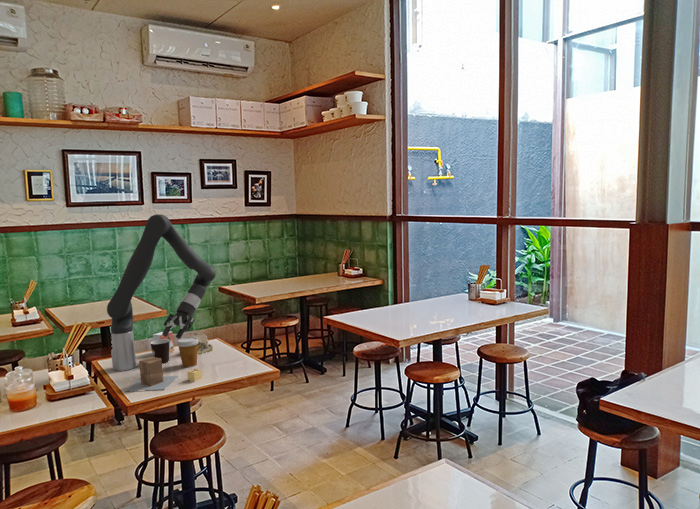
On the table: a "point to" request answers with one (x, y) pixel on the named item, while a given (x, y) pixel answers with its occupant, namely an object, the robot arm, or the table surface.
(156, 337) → the small box
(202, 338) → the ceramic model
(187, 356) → the disposable coffee cup
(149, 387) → the grey mat
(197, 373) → the letter cube
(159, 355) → the coffee mug
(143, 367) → the walnut block
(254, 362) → the table surface
